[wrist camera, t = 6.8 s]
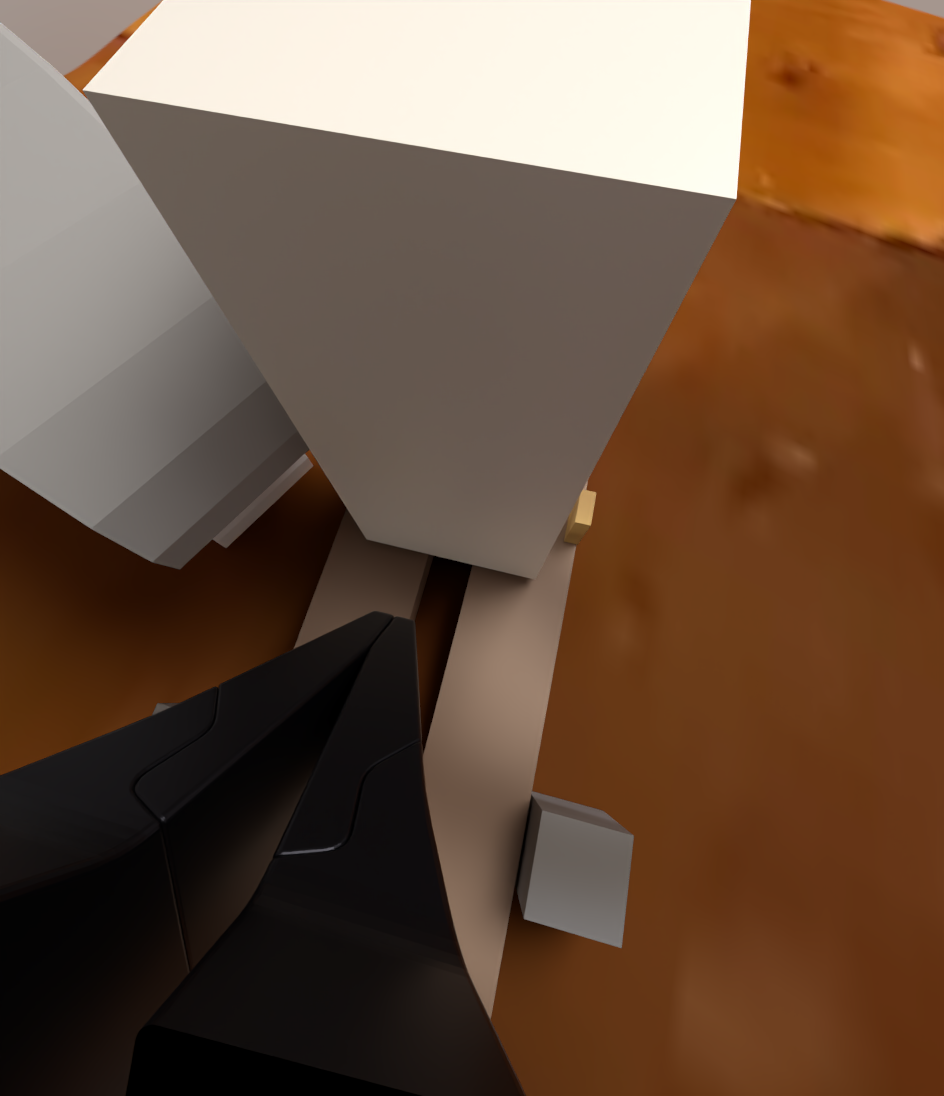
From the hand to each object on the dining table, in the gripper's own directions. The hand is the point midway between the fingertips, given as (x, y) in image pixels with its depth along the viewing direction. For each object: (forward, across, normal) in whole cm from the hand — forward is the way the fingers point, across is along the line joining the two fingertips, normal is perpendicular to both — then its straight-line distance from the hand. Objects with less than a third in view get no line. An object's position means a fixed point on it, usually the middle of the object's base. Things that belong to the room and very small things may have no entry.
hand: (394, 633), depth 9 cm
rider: (+8, 0, -1) cm, 9 cm away
